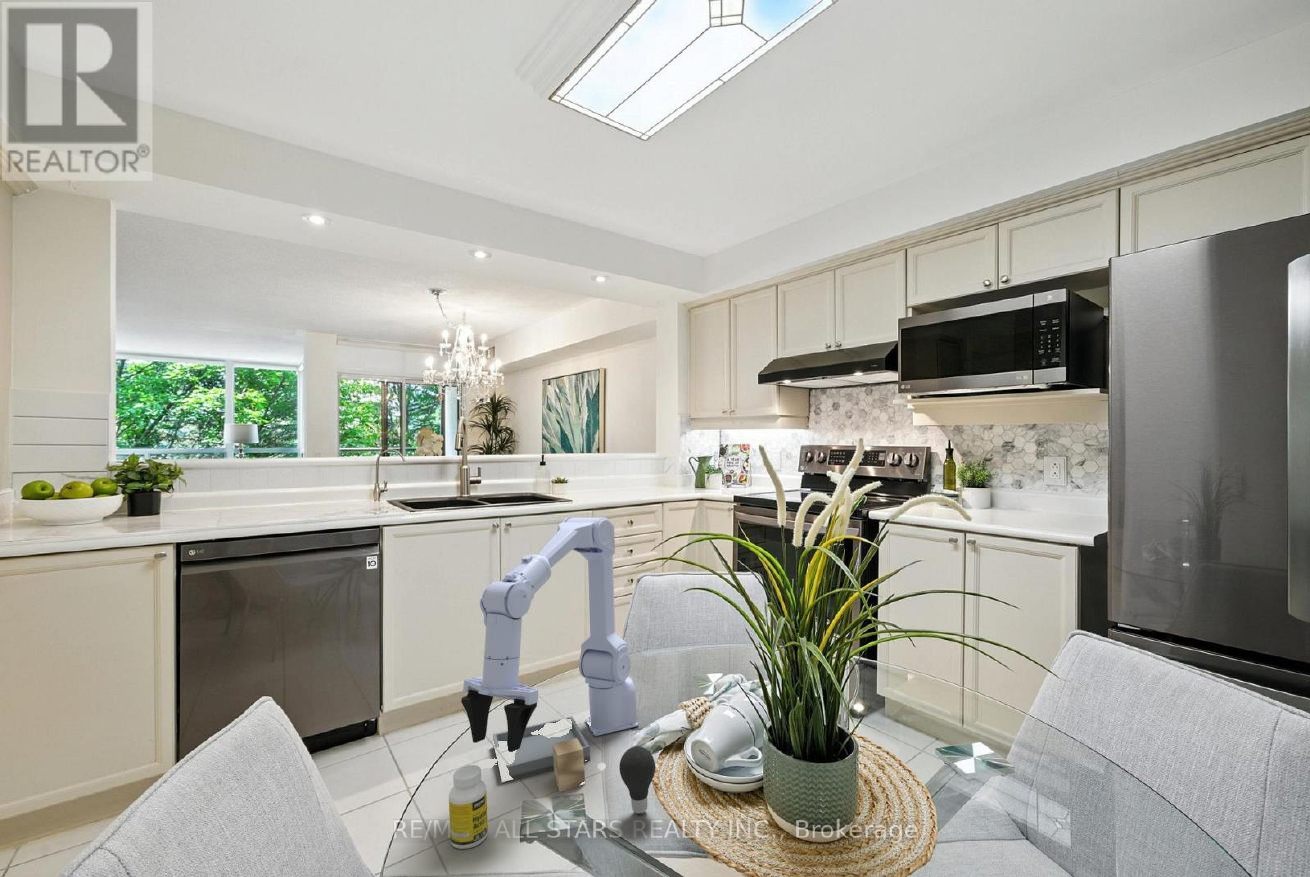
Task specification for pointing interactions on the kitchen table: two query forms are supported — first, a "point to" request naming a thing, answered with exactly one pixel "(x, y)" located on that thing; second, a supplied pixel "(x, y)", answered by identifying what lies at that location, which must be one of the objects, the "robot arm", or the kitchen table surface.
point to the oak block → (568, 764)
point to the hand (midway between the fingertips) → (496, 745)
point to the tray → (539, 750)
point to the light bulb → (637, 775)
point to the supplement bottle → (468, 808)
